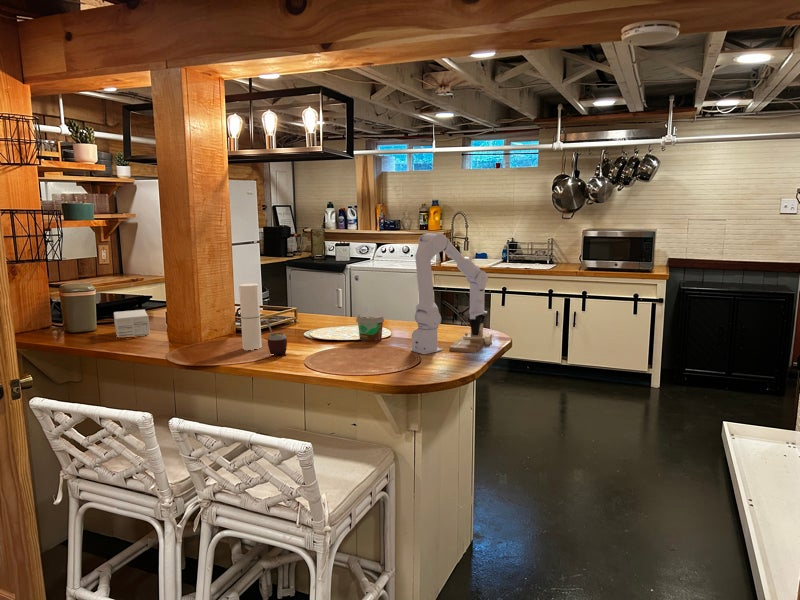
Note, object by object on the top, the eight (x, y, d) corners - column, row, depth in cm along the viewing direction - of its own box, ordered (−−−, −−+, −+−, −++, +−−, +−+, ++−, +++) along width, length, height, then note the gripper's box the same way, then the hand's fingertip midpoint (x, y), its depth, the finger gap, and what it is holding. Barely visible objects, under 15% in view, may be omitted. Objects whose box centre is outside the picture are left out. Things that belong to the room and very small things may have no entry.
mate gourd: (290, 353, 218) (288, 314, 216) (282, 358, 210) (280, 318, 208) (271, 352, 219) (269, 313, 217) (263, 358, 212) (261, 317, 209)
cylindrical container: (249, 351, 222) (245, 286, 218) (239, 348, 227) (235, 285, 222) (265, 347, 227) (262, 284, 223) (254, 345, 232) (251, 283, 228)
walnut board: (475, 352, 215) (475, 348, 215) (449, 350, 219) (449, 346, 219) (487, 341, 234) (487, 337, 233) (463, 339, 237) (463, 335, 237)
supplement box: (115, 332, 260) (113, 311, 258) (147, 329, 266) (145, 309, 264) (116, 339, 245) (114, 318, 244) (150, 336, 251) (148, 315, 250)
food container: (350, 341, 237) (350, 317, 235) (358, 338, 242) (358, 314, 240) (377, 344, 231) (376, 319, 229) (384, 340, 236) (384, 316, 235)
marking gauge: (488, 344, 226) (489, 326, 225) (462, 342, 230) (462, 324, 229) (492, 341, 232) (492, 323, 231) (466, 339, 236) (466, 321, 235)
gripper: (482, 303, 220) (482, 338, 222) (491, 297, 234) (490, 330, 236) (464, 302, 223) (464, 337, 225) (474, 296, 236) (473, 329, 238)
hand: (476, 333), depth 231 cm, fingers closed on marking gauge, 4 cm apart
